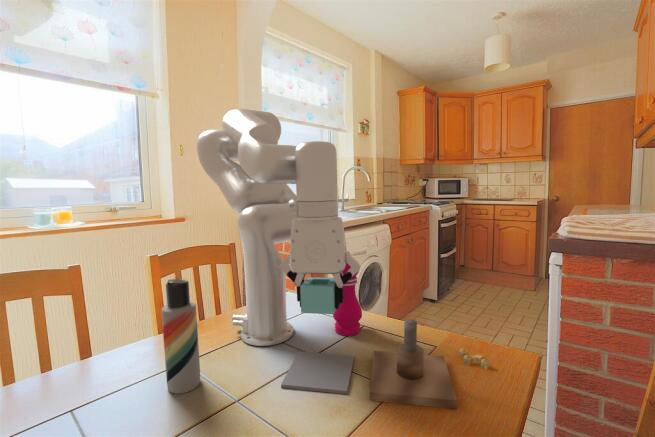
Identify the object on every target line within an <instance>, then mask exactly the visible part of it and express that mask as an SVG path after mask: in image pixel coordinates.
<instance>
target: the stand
mask: <svg viewBox="0 0 655 437" xmlns="http://www.w3.org/2000/svg"><path fill="white" fill-rule="evenodd" d="M403 323H404V324H403V325H404V327H403V328H404V331H403V332H404V335H403V336H404V338H403V340H404V341H403V343H400V344H398V345H397V346H396V352H393V351H383V350H382V351H381V350H373V353H372V362H371V363H372V366H371V375H370V376H371V377H370V384H369V400H370V401H375V402H385V403H395V404H402V405H403V404H404V405H405V404H406V405H412V406H413V405H415V406H424V407H433V408H434V407H435V408H445V409H453V410H454V409H457V407H458V398H457V396H456V393H455V390H454V386H453V382H452V380H451V377H450V372H449V369H448V367H447V366H448V365H447V362H446V359H445V356H444V355H435V354H424V353H425V350H424V348H423V347H422V346H420V345H418V344H417V339H418V338H417V335H418V333H417V332H418V330H417V328H418V327H417V326H418V321H417V320H415V319H411V318H409V319H408V318H407V319H405V320H404V321H403Z"/></svg>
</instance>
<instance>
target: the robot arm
mask: <svg viewBox="0 0 655 437" xmlns="http://www.w3.org/2000/svg"><path fill="white" fill-rule="evenodd" d="M221 127H222V129H219V128H217V129H209V130H206V131H203V132H202V133H201V134H199V136H198V137H197V140H196V141H197V142H196V151H197V158H198V160H199V163H200V165H201V167H202V169H203V171H204V172H205V173H206V175H207V176H208V177H209V178H210V180H212V181H213V182H214V183H215V184H216V185H217V187H218V189H219V190H220V191H221V193H222V195H223V197H224V198H225V199H226V201H227V203H228V205H229V206H230V208H231V209H232V211H233V212H234V213H235V214H236V215H238V218H237V227H238V228H237V230H238V233H239V238H240V242H241V246H242V255H243V269H244V288H245V290H244V291H245V311H246V312H245V313H246V314H245V315H242V314H233V316H232V318H231V320H232V326H233V327H241V328H242V329H241V330H240V339H241V340H242V341H243V342H244V343H246V344H248V345H252V346H257V347H258V346H259V347H264V346H265V347H268V346H274V345H277V344H281V343H283V342H286V341H287V340H289V339H290V338H291V337H292V336H293V335H294V326H293V325H292V323H290V322H289V321H287V317H288V316H287V293H286V292H287V288H286V286H287V284H286V276H287V277H288V279H289V280H290V281H291V282H293V285H294V286H295V287H296V300H297V302H299V308H301V294H300V286H301V285H302V284H303V282H304V281H305V280H306V277H307V276H306V275H307V274H310V275H332V278H334V280H335V282H336V287H335V308H336V309H339V307H340V304H341V303H343V301H344V290H343V285H344V284H345V283H347V282H348V281H349V280H350V279H351V277H352V276H353V275H355V274H356V273H357V272H358V271H359V272H360V270H361V264H360V263H359V262H358V261H357V259H355V258H354V257H353V256H352V255H351V253H350V254H349V253H348V252H349V251H348V250H347V243H346V242H347V241H346V234H345V227H344V223H343V218H342V217H341V216H339V203H338V202H339V201H338V200H339V199H338V198H339V197H338V193H339V190H338V159H337V157H338V154H337V148H336V146H335V144H333V143H332V142H329V141H322V140H321V141H320V140H318V141H317V140H316V141H315V140H313V141H306V142H305V141H304V142H300V143H299V144H297V145H293V144H292V145H289V144H278V143H279V140H280V137H281V134H282V124H281V122H280V120H279V118H278V116H276V115H275V114H274V113H272V112H269V111H264V110H263V111H262V110H256V109H249V108H248V109H247V108H234V109H232V110H229V111H227V113H226V114H225V115H224V116H223V118H222V123H221ZM237 162H239V163H237ZM289 185H296V186H295V187H296V192H294V191H293V190H292V188H290V186H289ZM295 193H296V194H295ZM282 243H289V244H290V245H289V254H288V255H287V257H285V259H284V257H283V256H282V255H283V254H281V253H280V252H279V250H278V249H277V247H276V245H278V244H282ZM347 251H348V252H347ZM347 263H348V264H349V265H350V266H351V268H350V269H349V270H348V271H347V272H346V273H345V274H344V275H343V273H342V271H343V270H344V269H345V266H346V264H347Z"/></svg>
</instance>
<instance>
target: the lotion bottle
mask: <svg viewBox="0 0 655 437" xmlns="http://www.w3.org/2000/svg"><path fill="white" fill-rule="evenodd" d="M165 294H166V304H165V305H164V306H163V307H162V308H161V321H162V322H161V324H162V336H163V338H162V339H163V349H164V363H165V375H166V387H167V390H168V391H169V392H170V393H172V394H176V395H177V394H178V395H179V394H185V393H188V392H191V391H192V390H194V389H196V388H197V387H198V386H199V385H200V383H201V366H200V365H201V364H200V350H199V347H200V346H199V332H198V318H197V305H196V302H194V301H191V296H190V295H191V294H190V282H189V280H187V279H184V278H171V279H168V280H167V281H166V283H165Z"/></svg>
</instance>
